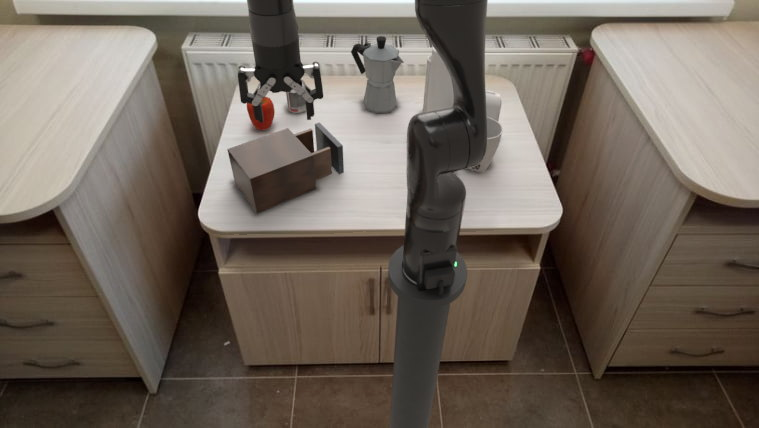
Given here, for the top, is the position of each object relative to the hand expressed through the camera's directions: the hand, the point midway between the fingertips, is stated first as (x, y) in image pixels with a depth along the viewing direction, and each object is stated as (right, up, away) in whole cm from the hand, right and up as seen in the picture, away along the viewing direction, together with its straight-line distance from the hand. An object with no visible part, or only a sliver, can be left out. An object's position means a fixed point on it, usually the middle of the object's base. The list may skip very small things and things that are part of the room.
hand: (285, 119), depth 99 cm
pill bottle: (-3, +9, +38) cm, 39 cm away
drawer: (+2, -8, +19) cm, 21 cm away
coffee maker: (+16, +11, +40) cm, 45 cm away
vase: (+31, +6, +35) cm, 48 cm away
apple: (-11, +4, +32) cm, 34 cm away
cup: (+39, -6, +23) cm, 45 cm away
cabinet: (-5, -11, +16) cm, 21 cm away
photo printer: (+39, +1, +30) cm, 50 cm away
